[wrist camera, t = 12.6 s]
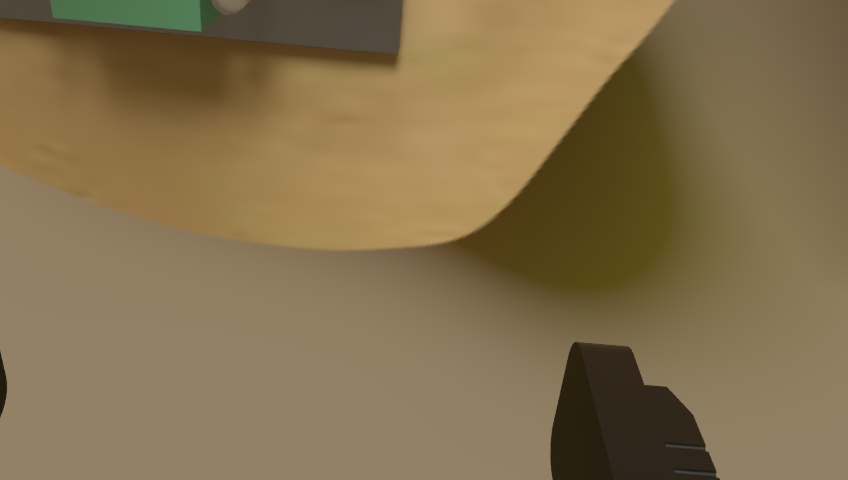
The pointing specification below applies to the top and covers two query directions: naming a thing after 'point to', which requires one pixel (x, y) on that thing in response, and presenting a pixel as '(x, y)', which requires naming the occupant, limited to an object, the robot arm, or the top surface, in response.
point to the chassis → (270, 22)
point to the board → (140, 12)
